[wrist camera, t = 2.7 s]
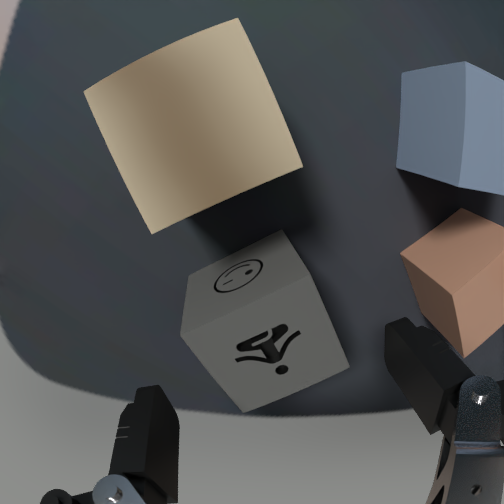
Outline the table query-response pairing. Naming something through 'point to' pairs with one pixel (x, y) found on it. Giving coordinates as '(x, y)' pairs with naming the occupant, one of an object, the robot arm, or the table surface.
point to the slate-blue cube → (453, 126)
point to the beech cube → (193, 124)
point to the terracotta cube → (460, 278)
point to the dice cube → (260, 324)
